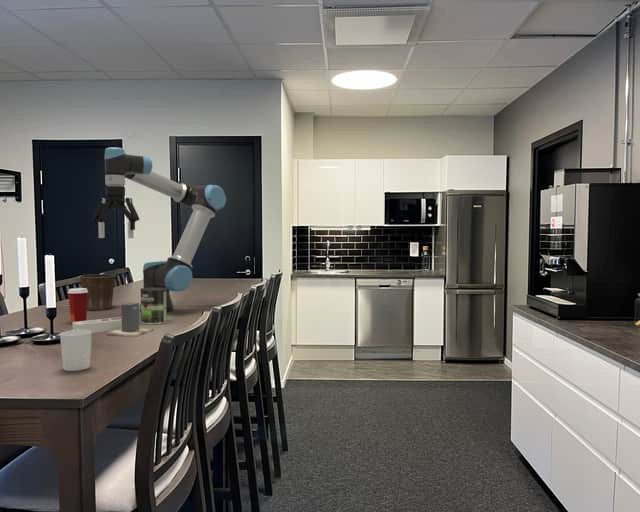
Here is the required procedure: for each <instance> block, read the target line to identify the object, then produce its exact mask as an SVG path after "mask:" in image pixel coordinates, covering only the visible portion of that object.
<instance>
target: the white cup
mask: <svg viewBox="0 0 640 512" xmlns="http://www.w3.org/2000/svg"><path fill="white" fill-rule="evenodd" d="M92 334H93V333H92V332H91V331H90V330H72V329H71V330H66V331H62V332H60V333H59V336H60V340H59V341H60V351H61V360H62V366H63V367H62V369H63V371H66V372H79V371H82V370H86V369H89V368H90V367H91V355H92Z"/></svg>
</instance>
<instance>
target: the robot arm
mask: <svg viewBox="0 0 640 512" xmlns="http://www.w3.org/2000/svg"><path fill="white" fill-rule="evenodd" d="M103 159H104V176H105V177H104V180H105V185H106V186H105V191H104V192H105V196H106V197H105V198H104V197H99V198H98V203H97V207H96V208H95V212H94V213H93V217H92V221H95V222H96V228H97V230H98V239H104V238H106V236H105V231H106V230H105V222H104V220H105V219H106V217H107V216H108V214H109V213H110V211H112V210H120V211H121V212H122V213H123V214H124V216H125V217H126V219H127V220H128V222H127V238H128V239H134V238H135V237H134V231H135V230H136V222H138V221H140V217H139V215H138V213H137V210H136V208H135V206H134V203H133V198H132V197H126V187H125V186H126V179H128V180H130V181H132V182H134V183H136V184H139V185H142V186H144V187H146V188H148V189H150V190H151V189H152V190H154V191H155V192H158V193H160V194H162V195H165V196H167V197H169V198H172V199H173V201H175V203H178V204H180V205H183V206H185V207H187V208H190V209H192V213H191V215H190V217H189V219H188V222H187V223H186V226H185V228H184V231H183V233H182V235H181V237H180V239H179V242H178V244H177V245H176V249H175V251H174V252H173V255H171V256H169V257H167V258H166V260H164V261H163V260H159V261H150V262H146V263H144V264H143V267H142V268H143V269H142V273H143V277H142V278H143V279H142V281H143V288H148V287H162V288H167V290H166V313H169V312H173V311H174V310H175V309H174V303H173V300H172V298H171V293H170V292H182V291H185V290H187V289H188V288H189V287H190V285H191V283H192V282H193V272H192V269H193V265H192V261H193V259H194V256H195V254H196V252H197V250H198V247H199V246H200V243H201V241H202V238H203V235H204V233H205V231H206V229H207V227H208V224H209V223H210V220H211V219H212V218H215V216H216V214H217V212H218V210H221V209H223V208H224V207H225V206H226V203H227V197H226V195H225V191H224V190H223V188H222V187H221V186H219V185H216V184H207V185H188V184H186V183H183V182H182V183H179V182H177V181H174V180H172V179H170V178H167V177H165V176H163V175H161V174H158V173H157V172H155V171H152V170H153V161H152V159H151V158H150V157H149V156H148V157H147V156H144V155H134V154H127V153H126V152H125V149H124V148H121V147H116V146H115V147H113V146H111V147H107V148H105V150H104V158H103ZM125 197H126V198H125ZM125 204H126V205H125ZM139 313H141V304H139Z"/></svg>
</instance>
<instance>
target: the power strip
mask: <svg viewBox="0 0 640 512" xmlns="http://www.w3.org/2000/svg"><path fill="white" fill-rule="evenodd" d="M71 325H72V328H71V330H90V331H91V332H92V333H91V334H94V333H95V334H96V333H103V332H105V333H106V332H111V331H114V330H117V329H120V328H122V315H121V316H118V317H117V316H116V317H108V318H98V319H88V320H86V321H79V322H72V324H71Z"/></svg>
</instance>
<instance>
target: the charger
mask: <svg viewBox="0 0 640 512" xmlns="http://www.w3.org/2000/svg"><path fill="white" fill-rule="evenodd" d="M121 316H122V332H133V331H136V330H139V328H140V302H126V303H123V304H121Z"/></svg>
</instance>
